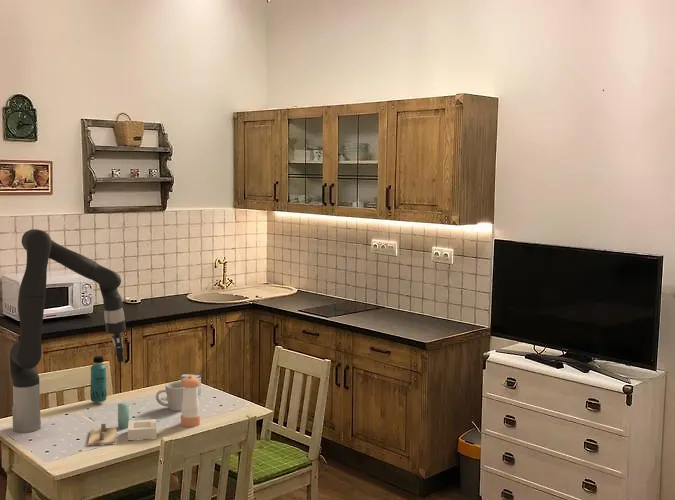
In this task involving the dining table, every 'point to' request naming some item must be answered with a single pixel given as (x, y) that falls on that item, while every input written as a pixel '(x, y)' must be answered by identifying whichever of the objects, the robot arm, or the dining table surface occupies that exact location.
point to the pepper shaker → (190, 402)
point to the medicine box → (196, 377)
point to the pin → (123, 415)
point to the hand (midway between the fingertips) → (119, 358)
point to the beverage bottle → (98, 380)
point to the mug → (172, 396)
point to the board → (106, 436)
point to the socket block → (142, 429)
